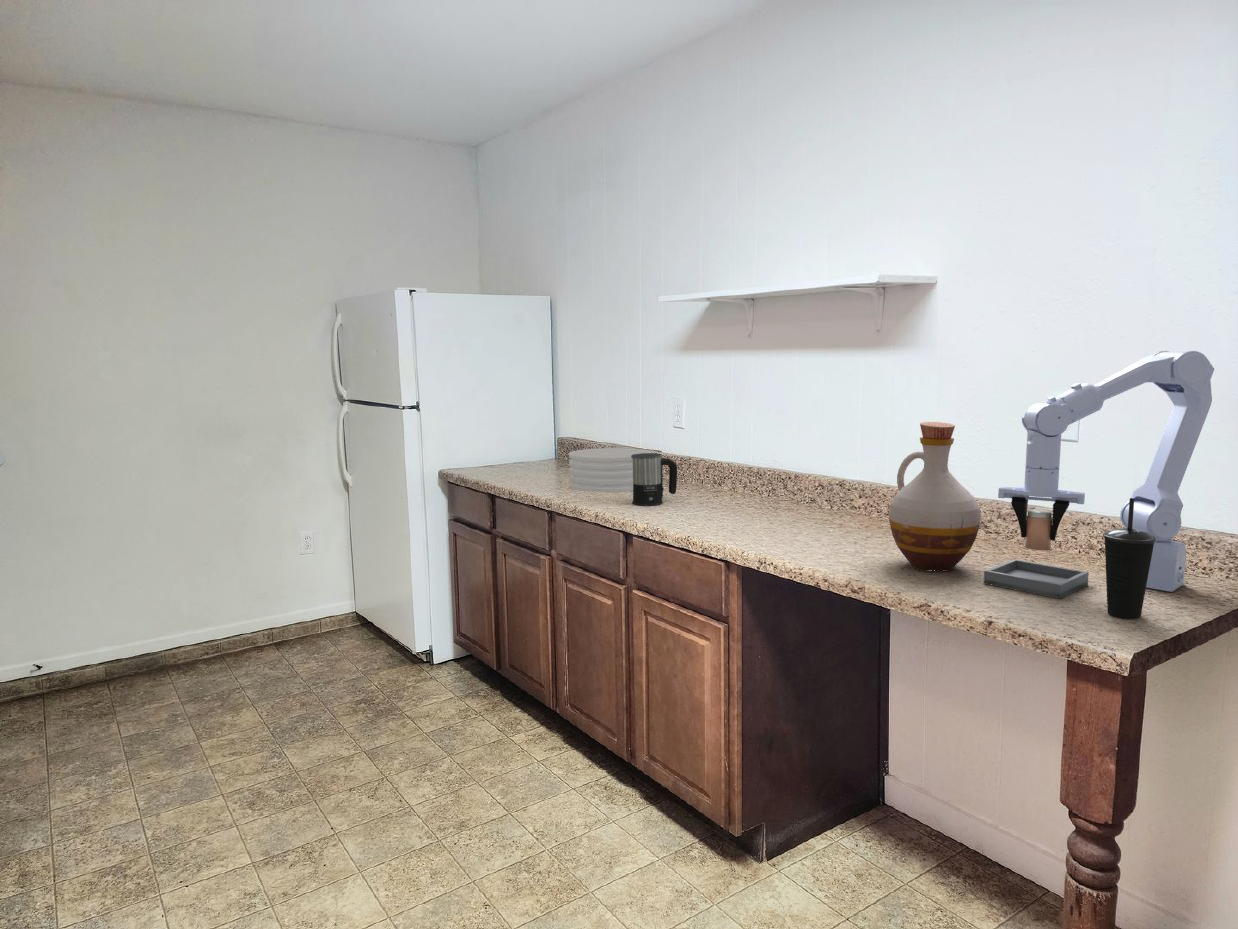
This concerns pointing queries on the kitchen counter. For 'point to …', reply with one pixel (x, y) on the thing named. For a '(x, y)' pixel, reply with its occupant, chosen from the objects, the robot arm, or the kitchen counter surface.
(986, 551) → the kitchen counter surface
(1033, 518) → the shaker
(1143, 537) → the drinking cup
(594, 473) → the plate stack
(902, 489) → the jug
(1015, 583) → the tray
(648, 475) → the milk frother
